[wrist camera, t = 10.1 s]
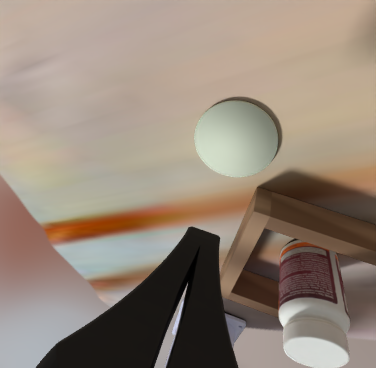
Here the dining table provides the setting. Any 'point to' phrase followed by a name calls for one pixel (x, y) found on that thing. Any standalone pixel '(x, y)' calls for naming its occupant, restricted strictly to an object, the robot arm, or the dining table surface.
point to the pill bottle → (313, 306)
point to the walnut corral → (296, 228)
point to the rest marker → (236, 138)
